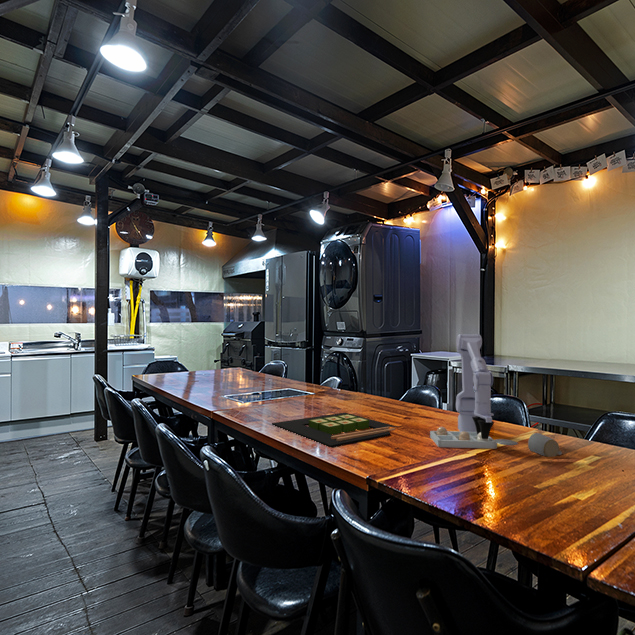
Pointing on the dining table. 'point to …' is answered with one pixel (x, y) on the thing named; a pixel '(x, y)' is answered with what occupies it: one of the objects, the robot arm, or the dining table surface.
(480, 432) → the cream egg
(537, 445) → the ceramic mug
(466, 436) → the brown egg
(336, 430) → the sushi set
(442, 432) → the brown egg
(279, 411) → the dining table surface
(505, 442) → the grey round disc
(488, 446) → the egg carton
